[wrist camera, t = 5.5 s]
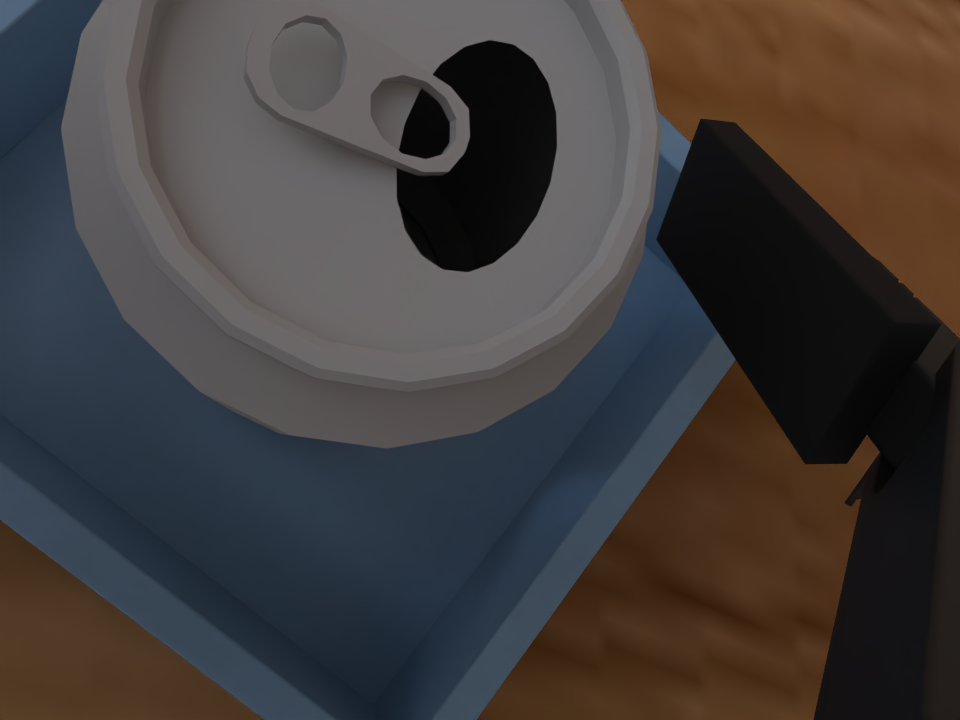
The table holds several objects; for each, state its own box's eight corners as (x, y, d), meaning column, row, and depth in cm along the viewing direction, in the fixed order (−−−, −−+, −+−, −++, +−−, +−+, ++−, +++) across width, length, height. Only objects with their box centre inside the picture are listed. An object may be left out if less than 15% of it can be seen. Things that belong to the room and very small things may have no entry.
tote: (-204, 300, 17) (-344, 262, 13) (279, -130, 21) (283, -261, 17) (374, 745, 20) (402, 825, 16) (718, 287, 23) (810, 258, 19)
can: (422, 476, 20) (630, 536, 9) (122, 386, 19) (-118, 312, 7) (503, 208, 21) (781, -54, 10) (228, 101, 20) (175, -364, 8)
